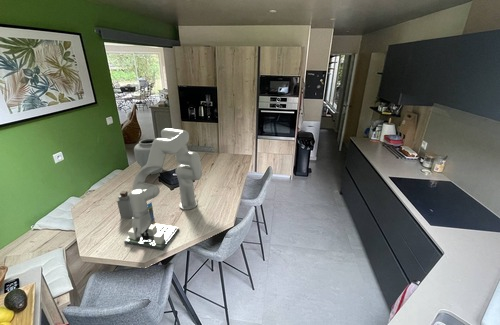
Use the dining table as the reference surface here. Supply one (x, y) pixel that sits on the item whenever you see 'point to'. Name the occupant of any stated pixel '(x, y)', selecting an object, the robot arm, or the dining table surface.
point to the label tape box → (150, 210)
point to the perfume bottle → (125, 205)
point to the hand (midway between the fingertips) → (145, 239)
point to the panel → (168, 232)
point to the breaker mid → (152, 230)
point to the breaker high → (159, 237)
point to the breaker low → (132, 234)
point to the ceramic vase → (144, 153)
